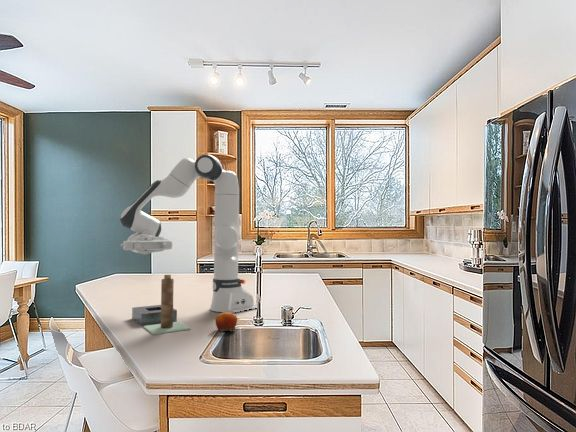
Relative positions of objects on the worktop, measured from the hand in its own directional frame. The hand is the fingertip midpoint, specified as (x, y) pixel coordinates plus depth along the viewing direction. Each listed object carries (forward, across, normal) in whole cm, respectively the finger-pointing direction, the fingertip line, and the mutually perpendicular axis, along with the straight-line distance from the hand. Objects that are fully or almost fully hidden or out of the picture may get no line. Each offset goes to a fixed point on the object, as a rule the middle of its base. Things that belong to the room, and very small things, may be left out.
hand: (153, 246), depth 177 cm
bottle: (+19, 0, +29) cm, 35 cm away
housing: (+3, 0, +30) cm, 30 cm away
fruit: (+33, +18, +30) cm, 48 cm away
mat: (+19, 0, +30) cm, 36 cm away
